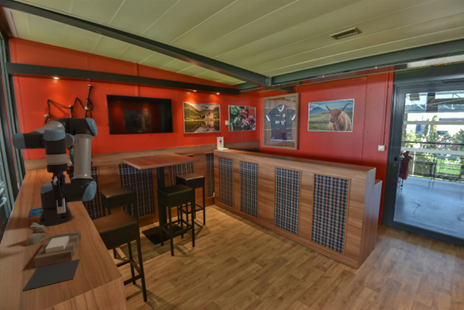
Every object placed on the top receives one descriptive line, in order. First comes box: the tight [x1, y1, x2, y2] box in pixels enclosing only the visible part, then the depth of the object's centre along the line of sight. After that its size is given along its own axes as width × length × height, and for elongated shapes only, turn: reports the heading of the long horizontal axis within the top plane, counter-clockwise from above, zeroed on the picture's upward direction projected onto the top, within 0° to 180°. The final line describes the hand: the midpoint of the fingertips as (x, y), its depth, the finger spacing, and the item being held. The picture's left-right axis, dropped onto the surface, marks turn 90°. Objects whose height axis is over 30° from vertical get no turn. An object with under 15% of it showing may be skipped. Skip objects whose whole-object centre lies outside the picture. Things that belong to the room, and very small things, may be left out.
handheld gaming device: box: [28, 206, 42, 218], centre depth 139 cm, size 8×1×15 cm
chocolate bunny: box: [25, 222, 46, 247], centre depth 104 cm, size 6×8×10 cm
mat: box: [22, 258, 81, 292], centre depth 82 cm, size 13×14×1 cm
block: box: [45, 236, 69, 253], centre depth 93 cm, size 9×6×2 cm, turn 26°
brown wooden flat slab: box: [33, 230, 82, 269], centre depth 96 cm, size 20×12×4 cm, turn 26°
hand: (61, 212), depth 101 cm, fingers closed
